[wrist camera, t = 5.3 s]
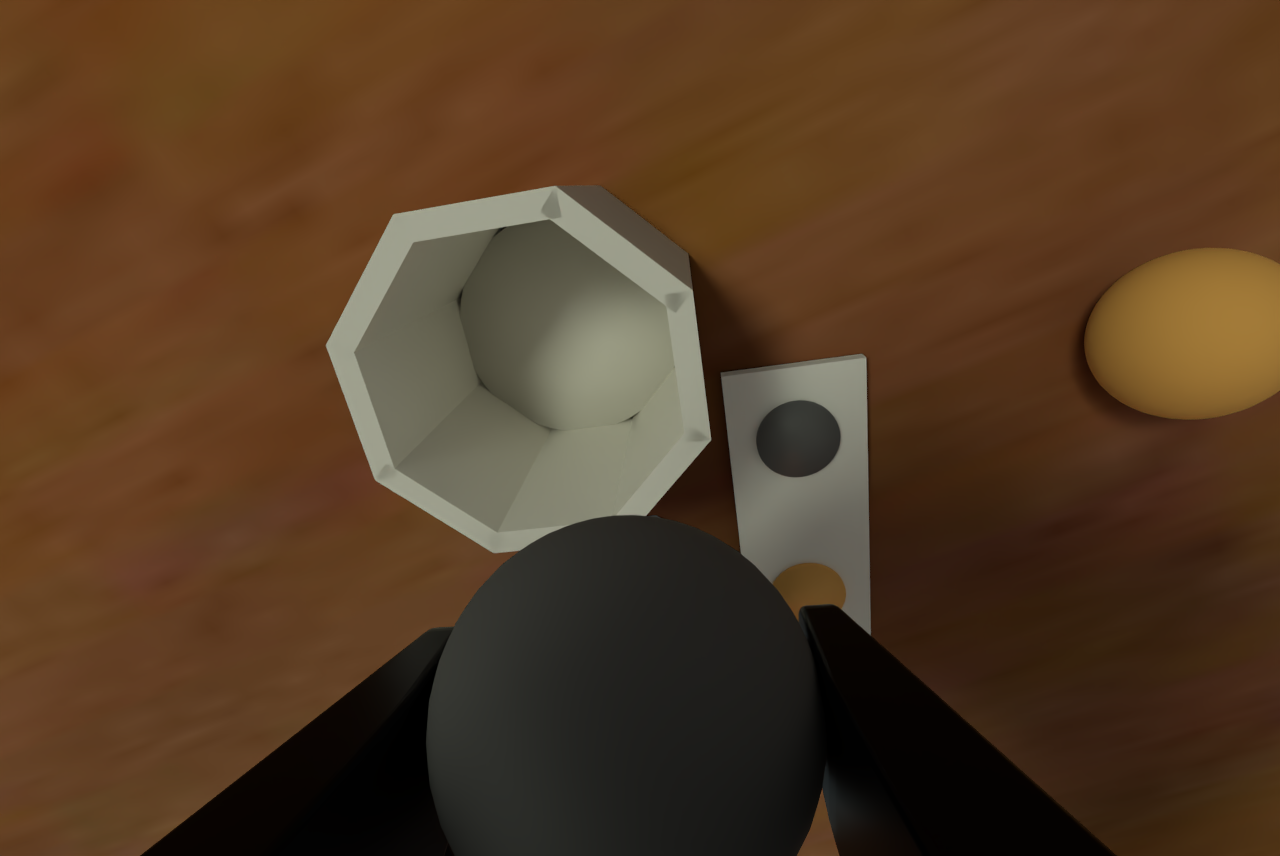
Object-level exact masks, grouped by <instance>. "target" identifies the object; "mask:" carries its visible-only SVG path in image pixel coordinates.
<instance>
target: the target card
mask: <svg viewBox="0 0 1280 856" xmlns="http://www.w3.org/2000/svg"><path fill="white" fill-rule="evenodd" d="M721 382H722V391H723V399H724V408H725V417H726V426H727V435H728V444H729V453H730V462H731V470H732V479H733V488H734V497H735V506H736V515H737V524H738V533H739V542H740V550H741V554H742V555H743V556H744V557H745V558H747V559H748V560H749V561H750V562H751V563H753V564H754V565H755V566H756V567H757V568H758V569H759V570H760V571H761V572H762V574H763V575H764V576H765V577H766V578H767V579H768V580H769V581H770V582H771V583H772V584H773V585H774V587H775V588H776V589H777V590H778V591H779V592H780V594H781V595H782V597H783V598H784V600H785V601H786V603H787V604H788V605H789V607H790V608H791V610H792V612H793V613H794V615H795V617H796V619H797V620H798V622H799V610H800V608H801V607H802V606H805V605H822V604H834V605H836V606H838V607H839V608H840V609H842V610H843V611H844V612H845V613H846V614H847V615H848V616H849V617H851V618H852V619H853V620H854V621H855V622H856V623H857V624H858V625H859V626H861V627H862V628H863V629H864V630H865V631H866V632H867V633H868V634H870V635H871V610H870V550H869V490H868V430H867V370H866V357H865V356H864V355H863V354H857V355H849V356H842V357H834V358H826V359H819V360H811V361H804V362H796V363H789V364H781V365H774V366H766V367H759V368H751V369H744V370H736V371H729V372H721Z"/></svg>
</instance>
